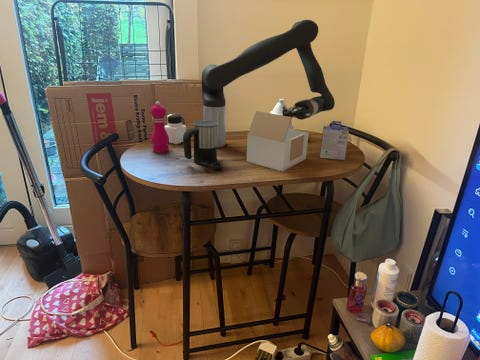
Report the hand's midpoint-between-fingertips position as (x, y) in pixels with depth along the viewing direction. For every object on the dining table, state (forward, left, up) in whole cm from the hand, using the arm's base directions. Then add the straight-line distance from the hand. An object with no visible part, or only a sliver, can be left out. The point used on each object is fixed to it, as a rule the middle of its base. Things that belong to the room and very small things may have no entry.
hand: (284, 115), depth 133 cm
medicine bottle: (-48, +12, -17) cm, 52 cm away
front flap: (-5, -9, -2) cm, 11 cm away
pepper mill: (-50, -1, -17) cm, 53 cm away
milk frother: (-26, -13, -17) cm, 34 cm away
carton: (-2, -3, -17) cm, 17 cm away
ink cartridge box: (+20, +6, -17) cm, 27 cm away
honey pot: (-3, +31, -17) cm, 35 cm away
